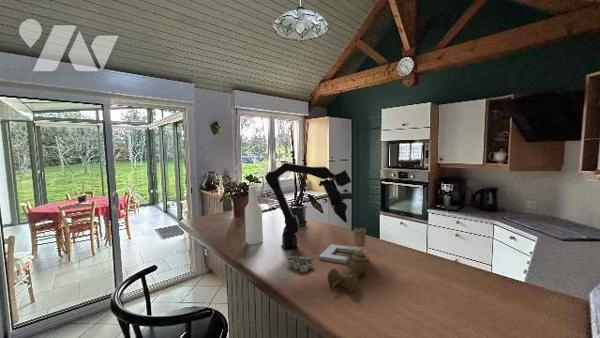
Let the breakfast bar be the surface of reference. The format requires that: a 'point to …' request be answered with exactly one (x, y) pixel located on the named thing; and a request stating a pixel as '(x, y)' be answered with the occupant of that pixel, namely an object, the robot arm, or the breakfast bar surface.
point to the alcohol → (253, 219)
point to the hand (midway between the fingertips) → (344, 219)
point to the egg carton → (297, 260)
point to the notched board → (330, 256)
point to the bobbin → (359, 245)
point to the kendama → (347, 276)
